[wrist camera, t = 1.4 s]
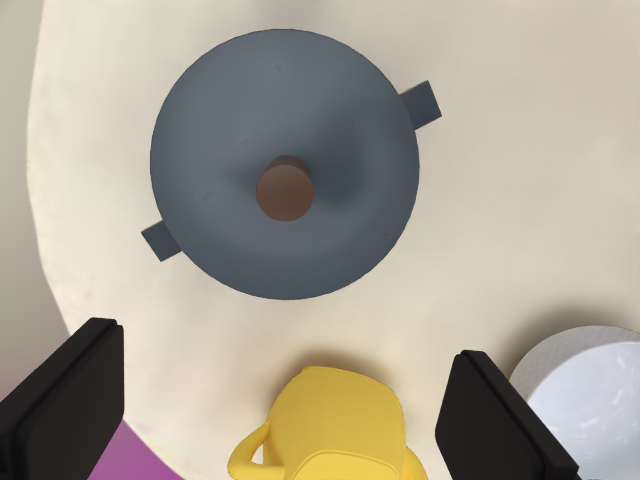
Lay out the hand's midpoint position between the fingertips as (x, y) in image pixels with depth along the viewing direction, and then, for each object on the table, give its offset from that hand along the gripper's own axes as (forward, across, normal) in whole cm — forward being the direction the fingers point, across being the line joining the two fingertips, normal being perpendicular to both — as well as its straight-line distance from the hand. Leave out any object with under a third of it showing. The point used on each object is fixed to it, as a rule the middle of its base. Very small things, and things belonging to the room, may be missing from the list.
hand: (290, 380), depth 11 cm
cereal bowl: (+24, -30, +15) cm, 42 cm away
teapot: (+25, -7, +21) cm, 33 cm away
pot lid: (+15, +1, -4) cm, 16 cm away
